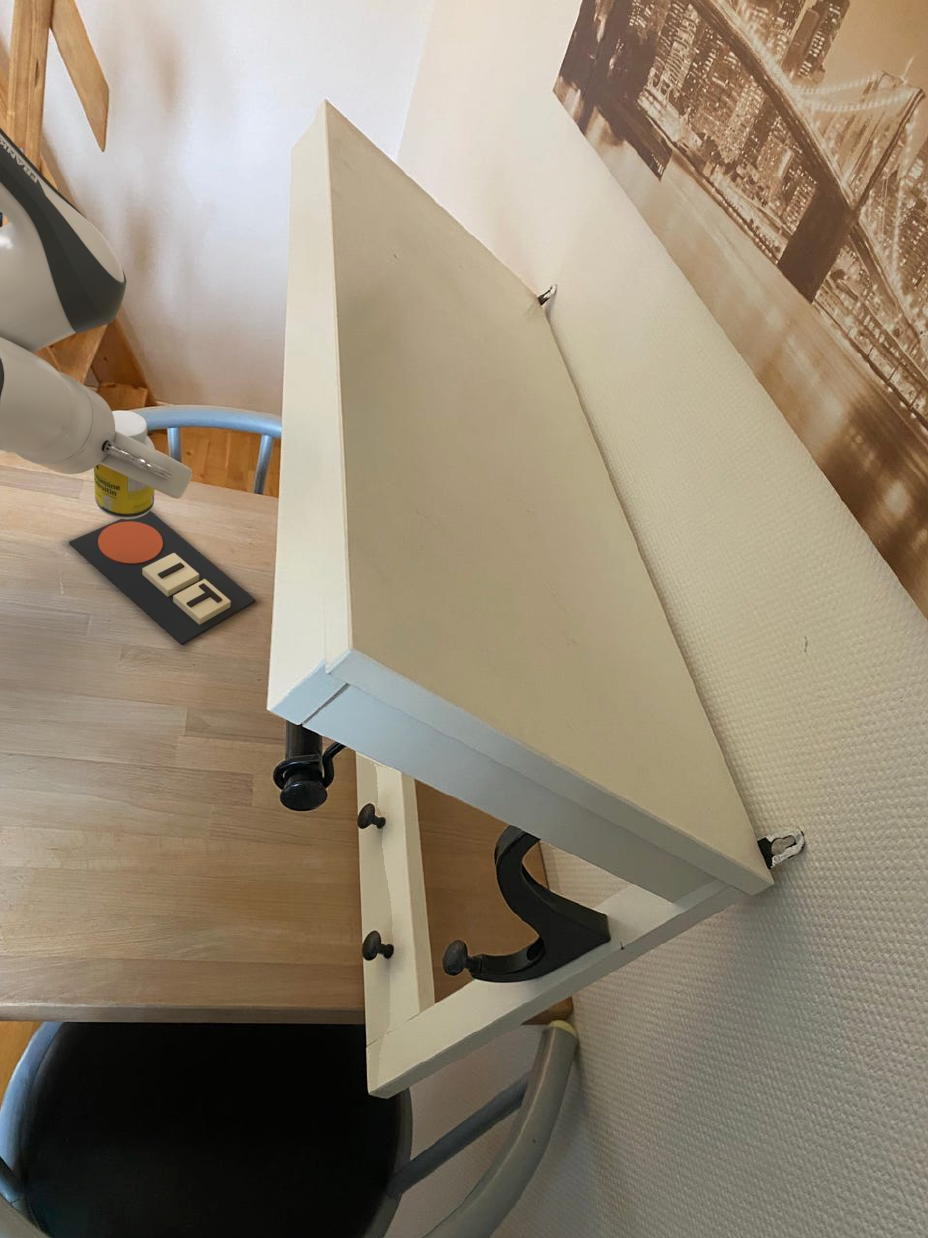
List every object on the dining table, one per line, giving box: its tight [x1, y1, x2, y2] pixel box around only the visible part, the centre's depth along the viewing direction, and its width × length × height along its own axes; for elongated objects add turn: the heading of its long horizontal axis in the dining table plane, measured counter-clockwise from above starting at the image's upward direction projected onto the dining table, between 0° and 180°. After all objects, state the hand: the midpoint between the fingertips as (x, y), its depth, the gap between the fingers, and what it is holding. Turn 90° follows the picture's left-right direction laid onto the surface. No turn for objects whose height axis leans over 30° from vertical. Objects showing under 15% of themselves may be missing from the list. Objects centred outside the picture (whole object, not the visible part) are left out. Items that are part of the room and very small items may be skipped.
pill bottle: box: [93, 409, 156, 520], centre depth 93 cm, size 6×6×12 cm
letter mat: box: [68, 510, 257, 646], centre depth 107 cm, size 22×12×2 cm, turn 52°
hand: (127, 458), depth 93 cm, fingers closed on pill bottle, 6 cm apart
